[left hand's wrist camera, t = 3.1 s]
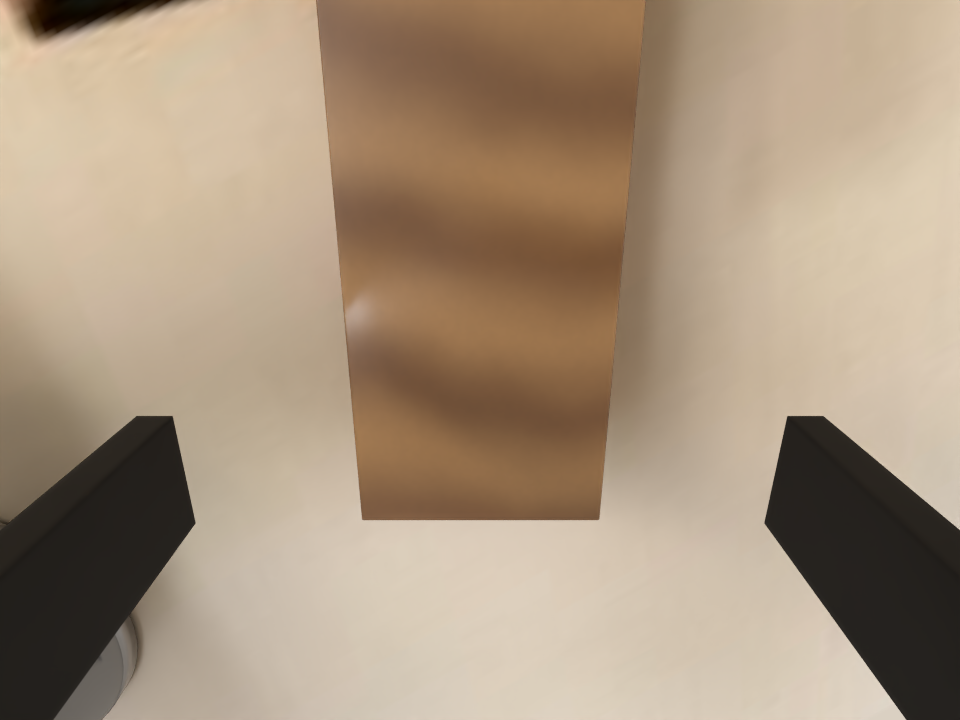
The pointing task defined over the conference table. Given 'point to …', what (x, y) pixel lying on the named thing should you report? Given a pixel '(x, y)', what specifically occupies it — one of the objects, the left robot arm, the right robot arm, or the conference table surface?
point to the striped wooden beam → (480, 245)
